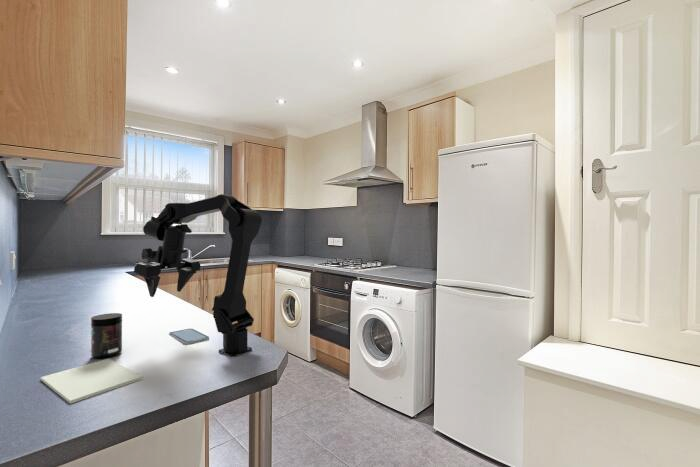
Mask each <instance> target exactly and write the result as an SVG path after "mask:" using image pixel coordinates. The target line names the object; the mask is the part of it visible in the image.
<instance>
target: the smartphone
mask: <svg viewBox="0 0 700 467" xmlns="http://www.w3.org/2000/svg"><path fill="white" fill-rule="evenodd" d="M168 335H169V336H171V337H172V338H174V339H176V340H177V341H178V342H180V343H181V344H182V345H192V344H195V343H199V342H204V341H205V342H206V341H208V340H210V336H209V335H207V334H204V333H202V332H200V331H198V330H197V329H194V328H184V329H180V330H175V331H170V332H168Z"/></svg>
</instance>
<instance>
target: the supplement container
mask: <svg viewBox="0 0 700 467" xmlns="http://www.w3.org/2000/svg"><path fill="white" fill-rule="evenodd" d="M90 344H91V345H90V347H91V348H90V356H91V358H92V359H94V360H105V359H111V358H114V357H117V356H118V355H120V354H121V352H122V351H123V314H122V313H118V312H113V313H103V314H98V315H94V316H92V317H90Z"/></svg>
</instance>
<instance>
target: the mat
mask: <svg viewBox="0 0 700 467" xmlns="http://www.w3.org/2000/svg"><path fill="white" fill-rule="evenodd" d="M143 379H144V376H143V375H142V374H140V373H138V372H135V371H134V370H132V369H130V368H128V367H126V366H124V365H121V363H118V362H116V361H114V360H113V359H111V358H107V359H101V360H98V361H95V362H91V363H88V364H84V365H80V366H76V367H73V368H70V369H65V370H62V371H59V372H58V371H57V372H55V373H52V374H48V375H43V376H41V377H40V381H41V382H43V383H44V384H45V385H46V386H48V387H49V388H50V389H52V390H53V391H54V392H55V393H56V394H58V395H59V396H60V397H61V398H63V399H64V400H65V401H67V403H69V404H70V405H71V404H74V403H76V402H79V401H83V400H85V399H88V398H91V397H94V396H97V395H100V394H103V393H105V392H109V391H111V390H114V389H117V388H121V387H122V386H125V385H129V384H132V383H134V382H138V381H140V380H143Z"/></svg>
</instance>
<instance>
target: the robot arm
mask: <svg viewBox="0 0 700 467" xmlns="http://www.w3.org/2000/svg"><path fill="white" fill-rule="evenodd" d="M218 212H221V216H222V217H223V218H224V219H225V220H226V221H227V222H228V232H229V234H230V237H231V247H230V253H229V259H228V266H227V272H226V277H225V283H224V289H223V291H222V293H221V294H218V295H215V296H214V298H213V307H212V308H211V311H213V313H212V316H213V318H214V322H215V326H216V330H217V333H221V334H222V347H223V348H220V349H218V353H220V354H224V355H225V356H229V357H237V356H239V355H241V354H245V353H247V352H250V351H252V350H253V348H252V347H251V346H248V328H249V327H252V326H253V324H254V321H255V319H254V318H253V316H252V315H251V313H250V312H249V311H248V310H247V300H246V297H245V295H244V286H245V280H246V276H247V270H248V269H247V268H248V263H249V258H250V251H251V246H252V242H253V241H254V239H256V237H257V235H258V234H259V231H260V229H261V226H262V222H263V220H262V216H261V214H260V213H259V212H258V210H255V209H252V208H251V207H250V206H248V205H247V204H245V203H243V202H241V201H240V200H238V198H236V196H235V197H234V196H233V195H231V194H230V195H229V194H223V193H222V194H218V195H216V196H212V197H209V198H204V199H200V200H196V201H192V202H187V203H186V202H184V203H183V202H168V203H166V204H165V206H164V208H163V209H162V210H161V211H160V213H159V215H157V216H155V215H151V216H150V217H151V218H150V220H148V221H146V223H145V224H144V226H143V230H142V231H143V234H144V235H145V236H147V237H149V238H151V239H154V240H158V241H161V242H162V245H159V246H158V248H157V250H153V249H152V248H143V249H142V250H141V251H142V252H141V259H142V260H146V261H145V262H137V263H136V264H135V265H134V269H133V273H135V274H137V275H139V276H140V277H142V278H143V279H144V280H145V283H146V286H147V290H148V293H149V294H148V295H149V296H150V298H154V297H155V295H156V292H157V289H158V286H159V284H160V281H161V280H160V279H161V276H159V275H161V272H164V271H171V270H177V272H178V278H177V285H176V291H177V292H178V293H180V292H181V291H182V290H183V288H185V286H186V285H187V284H188V282H189V280H191V278H192V277H193V276H194V275H195V274H197V271H200V270H201V263H200V261H199V260H195V259H192V258H190V257H189V258H187V257H186V258H183V254H186V253H187V249H185V248H184V246H185V240H186V235H187V234H191V233H192V232H193V231H192V229H191V228H190V227H189V226H188V223H191V222H193V221H195V220H196V219H197V218H198V217H200V216H205V215H208V214H213V213H218ZM153 262H154V263H153ZM235 322H236V323H235Z"/></svg>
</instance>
